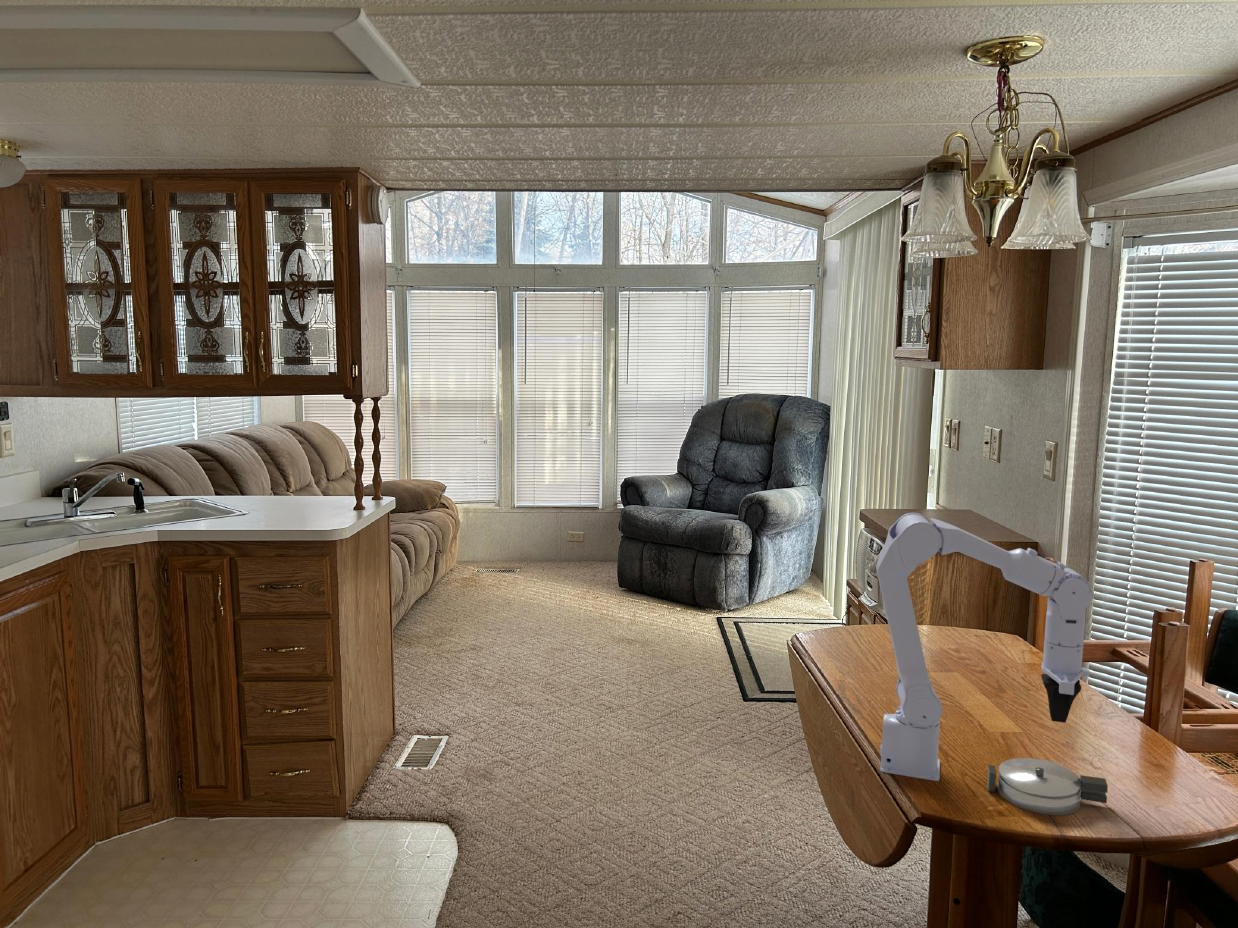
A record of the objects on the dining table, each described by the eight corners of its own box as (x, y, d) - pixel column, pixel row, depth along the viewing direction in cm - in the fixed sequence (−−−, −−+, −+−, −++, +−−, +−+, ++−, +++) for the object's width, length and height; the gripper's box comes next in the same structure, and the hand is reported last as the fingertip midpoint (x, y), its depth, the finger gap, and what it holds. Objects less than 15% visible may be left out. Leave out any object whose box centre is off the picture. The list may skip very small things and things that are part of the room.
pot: (989, 804, 136) (990, 785, 135) (986, 770, 147) (987, 753, 146) (1111, 825, 130) (1112, 805, 129) (1098, 788, 141) (1099, 770, 140)
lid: (1000, 790, 135) (1001, 780, 135) (996, 757, 146) (997, 747, 146) (1112, 807, 129) (1113, 796, 129) (1099, 772, 140) (1100, 761, 140)
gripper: (1098, 658, 133) (1091, 742, 135) (1084, 631, 146) (1078, 707, 148) (1047, 653, 135) (1042, 734, 137) (1038, 626, 149) (1033, 701, 151)
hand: (1058, 720), depth 143 cm, fingers closed
